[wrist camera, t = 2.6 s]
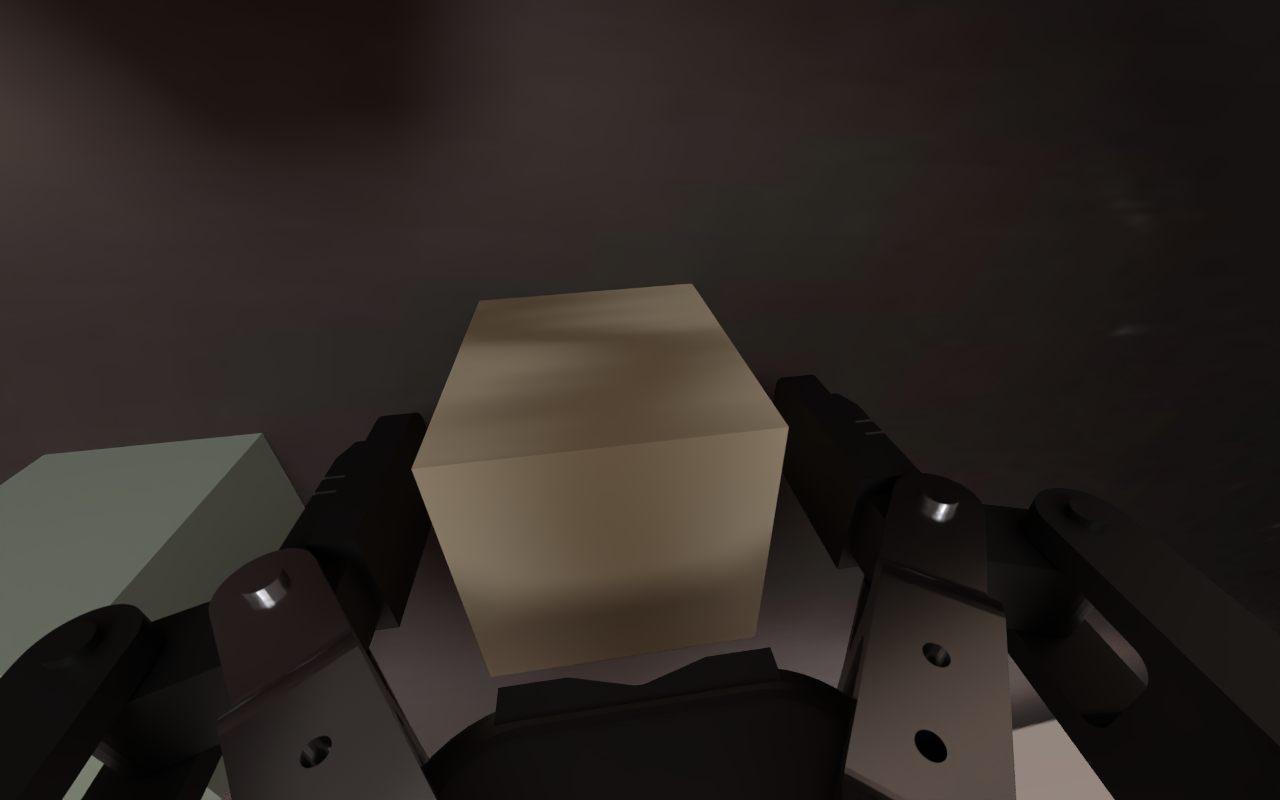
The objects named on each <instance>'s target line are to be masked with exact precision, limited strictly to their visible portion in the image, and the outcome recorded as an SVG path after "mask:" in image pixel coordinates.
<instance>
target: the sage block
mask: <svg viewBox="0 0 1280 800" xmlns="http://www.w3.org/2000/svg"><path fill="white" fill-rule="evenodd" d="M304 509H305V507H304V506H303V504H302V502H301V500H300V498H299V497H298V495H297V493H296V491H295V490H294V488H293V486H292V484H291V483H290V481H289V479H288V477H287V476H286V474H285V472H284V470H283V469H282V467H281V465H280V463H279V462H278V460H277V458H276V456H275V454H274V453H273V451H272V449H271V447H270V446H269V444H268V442H267V440H266V439H265V437H264V435H263V433H258V434H248V435H238V436H228V437H218V438H208V439H198V440H188V441H178V442H168V443H158V444H148V445H138V446H128V447H118V448H108V449H98V450H88V451H79V452H69V453H59V454H49V455H43V456H42V457H40V458H39V459H37V460H36V461H35V462H33V463H32V464H30V465H29V466H27V467H26V468H24V469H23V470H22V471H20V472H19V473H17V474H16V475H14V476H13V477H12V478H10V479H9V480H7V481H6V482H4V483H3V484H2V485H0V678H1V677H2V675H3V674H4V673H5V672H6V671H7V670H8V669H9V668H10V667H11V666H12V664H13V663H14V662H15V661H16V660H17V659H18V658H19V657H20V656H21V655H22V654H23V653H24V652H25V651H26V650H27V649H29V648H30V647H31V646H32V645H33V644H34V643H36V642H37V641H38V640H40V639H41V638H42V637H44V636H45V635H46V634H48V633H49V632H51V631H52V630H54V629H56V628H57V627H59V626H61V625H62V624H64V623H66V622H68V621H69V620H71V619H74V618H76V617H78V616H80V615H82V614H84V613H87V612H89V611H92V610H95V609H98V608H101V607H105V606H109V605H115V604H130V605H134V606H136V607H137V608H139V609H140V610H141V611H142V612H143V613H144V614H145V615H146V616H147V617H148V618H149V619H150V620H151V621H155V620H158V619H161V618H164V617H166V616H169V615H172V614H175V613H178V612H181V611H183V610H186V609H189V608H192V607H195V606H198V605H200V604H203V603H206V602H209V601H211V599H212V597H213V595H214V593H215V592H216V590H217V589H218V588H219V586H220V585H221V584H222V583H223V582H224V581H225V580H226V579H227V578H228V577H229V576H230V575H231V574H233V573H234V572H235V571H236V570H238V569H239V568H241V567H242V566H244V565H245V564H247V563H248V562H250V561H252V560H254V559H256V558H258V557H260V556H262V555H265V554H268V553H270V552H273V551H277V550H279V548H280V547H281V545H282V544H283V542H284V540H285V539H286V537H287V536H288V534H289V532H290V531H291V529H292V528H293V526H294V525H295V523H296V521H297V520H298V518H299V517H300V515H301V513H302V512H303V510H304ZM103 764H104V763H102V762H101V761H99V760H98V759H96V758H95V757H93V756H91V757H90V759H89V760H88V762H87V763H86V765H85V766H84V768H83V769H82V771H81V772H80V774H79V775H78V777H77V778H76V780H75V781H74V783H73V784H72V786H71V787H70V789H69V790H68V792H67V793H66V795H65V796H64V798H63V799H62V800H81V799H82V797H83V796H84V794H85V793H86V791H87V789H88V788H89V786H90V785H91V783H92V782H93V780H94V778H95V777H96V775H97V774H98V772H99V771H100V769H101V767H102V766H103ZM228 787H229V784H228V779H227V774H226V770H225V765H224V760H223V755H222V756H221V758H220V761H219V763H218V765H217V767H216V769H215V771H214V773H213V776H212V778H211V780H210V782H209V784H208V786H207V788H206V791H205V793H204V795H203V797H202V799H201V800H221V799H223V797H224V795H225V793H226V791H227V789H228Z"/></svg>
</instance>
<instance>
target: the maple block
mask: <svg viewBox="0 0 1280 800" xmlns="http://www.w3.org/2000/svg"><path fill="white" fill-rule="evenodd" d="M788 429H789V427H788V425H787V424H786V422H785V421H784V419H783V418H782V416H781V415H780V413H779V412H778V410H777V409H776V407H775V406H774V404H773V403H772V402H771V400H770V399H769V397H768V396H767V394H766V393H765V391H764V390H763V388H762V387H761V385H760V384H759V382H758V381H757V379H756V378H755V376H754V375H753V373H752V372H751V370H750V369H749V367H748V366H747V364H746V363H745V361H744V360H743V359H742V357H741V356H740V354H739V353H738V351H737V350H736V348H735V347H734V345H733V344H732V342H731V341H730V339H729V338H728V336H727V335H726V333H725V332H724V330H723V329H722V327H721V326H720V324H719V323H718V321H717V320H716V318H715V317H714V316H713V314H712V313H711V311H710V310H709V308H708V307H707V305H706V304H705V302H704V301H703V299H702V298H701V296H700V295H699V293H698V292H697V290H696V289H695V287H694V286H693V284H682V285H670V286H657V287H645V288H632V289H620V290H608V291H595V292H583V293H570V294H558V295H546V296H533V297H521V298H508V299H496V300H484V301H479V303H478V305H477V308H476V310H475V313H474V315H473V318H472V320H471V323H470V325H469V328H468V330H467V333H466V335H465V338H464V340H463V342H462V345H461V347H460V350H459V352H458V355H457V357H456V360H455V362H454V365H453V367H452V370H451V372H450V375H449V377H448V380H447V382H446V385H445V387H444V390H443V392H442V395H441V397H440V399H439V402H438V404H437V407H436V409H435V412H434V414H433V417H432V419H431V422H430V424H429V427H428V429H427V432H426V434H425V437H424V439H423V442H422V444H421V447H420V449H419V452H418V454H417V456H416V459H415V461H414V464H413V466H412V472H413V474H414V477H415V480H416V482H417V485H418V488H419V490H420V493H421V495H422V498H423V501H424V503H425V506H426V509H427V511H428V514H429V516H430V519H431V522H432V524H433V527H434V530H435V532H436V535H437V537H438V540H439V543H440V545H441V548H442V551H443V553H444V556H445V558H446V561H447V564H448V566H449V569H450V572H451V574H452V577H453V579H454V582H455V585H456V587H457V590H458V592H459V595H460V598H461V600H462V603H463V606H464V608H465V611H466V613H467V616H468V619H469V621H470V624H471V627H472V629H473V632H474V634H475V637H476V640H477V642H478V645H479V648H480V650H481V653H482V655H483V658H484V661H485V663H486V666H487V669H488V671H489V674H490V676H491V677H497V676H503V675H510V674H517V673H523V672H530V671H536V670H543V669H550V668H556V667H563V666H569V665H576V664H582V663H589V662H596V661H602V660H609V659H615V658H622V657H628V656H635V655H642V654H648V653H655V652H661V651H668V650H675V649H681V648H688V647H694V646H701V645H707V644H714V643H721V642H727V641H734V640H740V639H747V638H753V637H755V634H756V628H757V622H758V616H759V610H760V603H761V597H762V591H763V585H764V578H765V572H766V566H767V560H768V553H769V547H770V541H771V535H772V528H773V522H774V516H775V510H776V503H777V497H778V491H779V485H780V478H781V472H782V466H783V460H784V453H785V447H786V441H787V435H788Z"/></svg>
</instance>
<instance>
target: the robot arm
mask: <svg viewBox="0 0 1280 800" xmlns="http://www.w3.org/2000/svg"><path fill="white" fill-rule="evenodd" d="M773 404H774V406H775V407H776V409H777V410H778V412H779V413H780V415H781V416H782V418H783V419H784V421H785V422H786V424H787V425H788V427H789V429H788V435H787V441H786V447H785V453H784V460H783V466H782V473H783V475H784V476H785V478H786V480H787V482H788V483H789V485H790V487H791V489H792V490H793V492H794V494H795V496H796V497H797V499H798V501H799V503H800V504H801V506H802V508H803V510H804V511H805V513H806V515H807V517H808V518H809V520H810V522H811V524H812V525H813V527H814V529H815V531H816V532H817V534H818V536H819V538H820V539H821V541H822V543H823V545H824V546H825V548H826V550H827V552H828V553H829V555H830V557H831V559H832V560H833V562H834V564H835V566H836V567H837V569H842V568H849V567H856V566H859V567H860V569H861V570H862V572H863V574H864V575H865V576H864V579H863V582H862V585H861V589H860V593H859V598H858V602H857V607H856V611H855V616H854V620H853V625H852V629H851V634H850V638H849V643H848V647H847V652H846V656H845V661H844V665H843V669H842V673H841V676H840V680H839V683H838V687H837V689H836V688H834V687H832V686H830V685H828V684H826V683H824V682H822V681H820V680H818V679H815V678H812V677H810V676H807V675H804V674H800V673H796V672H792V671H788V670H783V669H778V667H777V664H776V662H775V659H774V656H773V654H772V651H771V648H770V647H769V648H762V649H756V650H749V651H742V652H736V653H729V654H722V655H716V656H709V657H705V658H702V659H700V660H698V661H696V662H693V663H691V664H689V665H687V666H685V667H682V668H680V669H678V670H676V671H673V672H671V673H669V674H667V675H664V676H662V677H660V678H658V679H655V680H653V681H651V682H649V683H646V684H643V685H638V686H637V685H625V684H617V683H608V682H600V681H592V680H584V679H575V678H562V679H555V680H548V681H542V682H535V683H528V684H522V685H515V686H508V687H502V688H498V696H497V705H496V712H494V713H492V714H490V715H488V716H486V717H484V718H482V719H480V720H479V721H477V722H475V723H473V724H472V725H470V726H468V727H467V728H466V729H464V730H463V731H461V732H460V733H459V734H457V735H456V736H455V737H453V738H452V739H451V740H450V741H448V742H447V743H446V744H445V745H444V746H443V747H442V748H441V749H439V750H438V751H437V752H436V753H435V754H434V755H433V756H432V757H431V758H430V759H429V758H428V756H427V754H426V753H425V751H424V749H423V747H422V746H421V744H420V742H419V740H418V738H417V737H416V735H415V733H414V731H413V729H412V728H411V726H410V724H409V722H408V720H407V718H406V716H405V714H404V712H403V711H402V709H401V707H400V705H399V703H398V701H397V699H396V697H395V695H394V694H393V692H392V690H391V688H390V686H389V684H388V682H387V680H386V678H385V677H384V675H383V673H382V671H381V669H380V667H379V665H378V663H377V662H376V660H375V658H374V656H373V654H372V652H371V651H370V649H369V646H370V643H371V641H372V638H373V635H374V632H375V630H381V629H388V628H396V627H399V626H400V623H401V620H402V617H403V614H404V610H405V607H406V604H407V601H408V598H409V594H410V591H411V588H412V585H413V582H414V578H415V575H416V572H417V569H418V566H419V562H420V559H421V556H422V553H423V550H424V547H425V543H426V540H427V537H428V534H429V531H430V527H431V524H432V522H431V519H430V516H429V514H428V511H427V509H426V506H425V503H424V501H423V498H422V495H421V493H420V490H419V488H418V485H417V482H416V480H415V477H414V474H413V472H412V466H413V464H414V461H415V459H416V456H417V454H418V452H419V449H420V447H421V444H422V442H423V439H424V437H425V434H426V432H427V428H426V425H425V422H424V420H423V418H422V416H421V415H420V414H419V413H410V414H399V415H389V416H381V417H380V418H378V420H377V421H376V423H375V425H374V427H373V428H372V430H371V432H370V433H369V435H368V437H367V439H366V440H365V441H360V442H356V443H354V444H353V445H352V446H351V447H350V448H348V449H347V450H346V451H345V452H343V453H342V454H341V455H340V456H339V457H337V458H336V460H335V461H334V463H333V464H332V466H331V468H330V469H329V471H328V472H327V474H326V475H325V480H322V482H321V483H320V485H319V487H318V488H317V490H316V491H315V493H316V495H315V496H312V498H311V499H310V501H309V502H308V504H307V506H306V507H305V509H304V510H303V512H302V513H301V515H300V517H299V518H298V520H297V521H296V523H295V525H294V526H293V528H292V529H291V531H290V532H289V534H288V536H287V537H286V539H285V540H284V542H283V544H282V545H281V547H280V548H279V550H277V551H273V552H270V553H268V554H265V555H262V556H260V557H258V558H256V559H254V560H252V561H250V562H248V563H247V564H245V565H244V566H242V567H241V568H239V569H238V570H236V571H235V572H234V573H233V574H231V575H230V576H229V577H228V578H227V579H226V580H225V581H224V582H223V583H222V584H221V585H220V586H219V588H218V589H217V590H216V592H215V593H214V595H213V597H212V599H211V601H209V602H206V603H203V604H200V605H198V606H195V607H192V608H189V609H186V610H183V611H181V612H178V613H175V614H172V615H169V616H166V617H164V618H161V619H158V620H155V621H151V620H150V619H149V618H148V617H147V616H146V615H145V614H144V613H143V612H142V611H141V610H140V609H139V608H137V607H136V606H134V605H130V604H115V605H109V606H105V607H101V608H98V609H95V610H92V611H89V612H87V613H84V614H82V615H80V616H78V617H76V618H74V619H71V620H69V621H68V622H66V623H64V624H62V625H61V626H59V627H57V628H56V629H54V630H52V631H51V632H49V633H48V634H46V635H45V636H44V637H42V638H41V639H40V640H38V641H37V642H36V643H34V644H33V645H32V646H31V647H30V648H29V649H27V650H26V651H25V652H24V653H23V654H22V655H21V656H20V657H19V658H18V659H17V660H16V661H15V662H14V663H13V664H12V666H11V667H10V668H9V669H8V670H7V671H6V672H5V673H4V674H3V675H2V677H1V678H0V800H62V799H63V798H64V796H65V795H66V793H67V792H68V790H69V789H70V787H71V786H72V784H73V783H74V781H75V780H76V778H77V777H78V775H79V774H80V772H81V771H82V769H83V768H84V766H85V765H86V763H87V762H88V760H89V759H90V757H91V756H93V757H95V758H96V759H98V760H99V761H101V762H102V763H104V764H103V766H102V767H101V769H100V771H99V772H98V774H97V775H96V777H95V778H94V780H93V782H92V783H91V785H90V786H89V788H88V789H87V791H86V793H85V794H84V796H83V797H82V799H81V800H201V799H202V797H203V795H204V793H205V791H206V788H207V786H208V784H209V782H210V780H211V778H212V776H213V773H214V771H215V769H216V767H217V765H218V763H219V761H220V758H221V756H222V755H223V760H224V765H225V770H226V774H227V779H228V784H229V789H230V793H231V798H232V800H1016V788H1015V770H1014V754H1013V736H1012V719H1011V702H1010V685H1009V668H1008V653H1009V655H1010V656H1011V658H1012V659H1013V660H1014V662H1015V663H1016V664H1017V666H1018V667H1019V669H1020V670H1021V671H1022V673H1023V674H1024V675H1025V677H1026V678H1027V680H1028V681H1029V682H1030V684H1031V685H1032V686H1033V688H1034V689H1035V691H1036V692H1037V693H1038V695H1039V696H1040V697H1041V699H1042V700H1043V702H1044V703H1045V704H1046V706H1047V707H1048V709H1049V710H1050V711H1051V713H1052V714H1053V715H1054V717H1055V718H1056V720H1057V721H1058V722H1059V724H1060V725H1061V726H1062V728H1063V729H1064V731H1065V732H1066V733H1067V735H1068V736H1069V737H1070V739H1071V740H1072V742H1073V743H1074V744H1075V745H1076V747H1077V748H1078V750H1079V751H1080V753H1081V754H1082V755H1083V757H1084V758H1085V759H1086V761H1087V762H1088V763H1089V765H1090V766H1091V768H1092V769H1093V770H1094V772H1095V773H1096V775H1097V776H1098V777H1099V779H1100V780H1101V781H1102V783H1103V784H1104V786H1105V787H1106V788H1107V790H1108V791H1109V792H1110V794H1111V795H1112V796H1113V798H1114V799H1115V800H1280V636H1279V635H1278V634H1276V633H1275V632H1274V631H1273V630H1271V629H1270V628H1269V627H1268V626H1266V625H1265V624H1264V623H1263V622H1261V621H1260V620H1259V619H1258V618H1256V617H1255V616H1254V615H1253V614H1251V613H1250V612H1249V611H1248V610H1246V609H1245V608H1244V607H1243V606H1241V605H1240V604H1239V603H1238V602H1236V601H1235V600H1234V599H1233V598H1231V597H1230V596H1229V595H1228V594H1226V593H1225V592H1224V591H1223V590H1221V589H1220V588H1219V587H1218V586H1216V585H1215V584H1214V583H1213V582H1211V581H1210V580H1209V579H1208V578H1206V577H1205V576H1204V575H1203V574H1201V573H1200V572H1199V571H1198V570H1196V569H1195V568H1194V567H1193V566H1191V565H1190V564H1189V563H1188V562H1186V561H1185V560H1184V559H1183V558H1181V557H1180V556H1179V555H1178V554H1176V553H1175V552H1174V551H1173V550H1171V549H1170V548H1169V547H1168V546H1166V545H1165V544H1164V543H1163V542H1161V541H1160V540H1159V539H1158V538H1156V537H1155V536H1154V535H1153V534H1151V533H1150V532H1149V531H1148V530H1146V529H1145V528H1144V527H1143V526H1141V525H1140V524H1139V523H1138V522H1136V521H1135V520H1134V519H1133V518H1131V517H1130V516H1129V515H1128V514H1126V513H1125V512H1124V511H1122V510H1121V509H1119V508H1118V507H1116V506H1114V505H1113V504H1111V503H1109V502H1107V501H1105V500H1103V499H1101V498H1098V497H1096V496H1093V495H1090V494H1088V493H1084V492H1081V491H1077V490H1072V489H1064V488H1051V489H1046V490H1043V491H1041V492H1039V493H1038V494H1037V495H1036V497H1035V499H1034V500H1033V502H1032V504H1031V506H1030V508H1029V509H1020V508H1011V507H1003V506H994V505H986V504H982V503H981V501H980V500H979V499H978V498H977V497H976V496H975V494H973V493H972V492H971V491H970V490H969V489H967V488H965V487H964V486H962V485H961V484H959V483H957V482H955V481H953V480H950V479H948V478H945V477H942V476H938V475H933V474H927V473H921V472H920V471H919V470H918V469H917V468H916V467H915V466H914V465H913V463H912V462H911V461H910V460H909V459H908V458H907V457H906V456H905V455H904V454H903V453H902V452H901V451H900V450H899V449H898V447H897V446H896V445H895V444H894V443H893V442H892V441H891V440H890V439H889V438H888V437H887V436H886V435H885V434H882V432H881V431H882V430H881V429H880V428H879V427H878V426H877V425H876V424H875V423H874V422H871V419H870V418H869V417H868V415H867V414H866V413H865V412H864V411H863V410H862V409H861V408H860V407H859V406H858V405H857V404H855V403H853V402H852V401H850V400H848V399H846V398H845V397H843V396H841V395H839V394H831V393H830V392H829V391H828V390H827V389H826V388H825V387H824V385H823V384H822V383H821V382H820V381H819V380H818V379H817V378H816V377H815V376H814V375H804V376H794V377H784V378H780V379H779V380H778V381H777V384H776V388H775V396H774V403H773ZM1094 607H1095V608H1096V609H1097V610H1098V611H1099V612H1100V613H1101V614H1102V615H1103V617H1104V618H1105V619H1106V620H1107V621H1108V622H1109V623H1110V624H1111V625H1112V626H1113V627H1114V628H1115V629H1116V630H1117V631H1118V632H1119V633H1120V634H1121V635H1122V636H1123V637H1124V638H1125V639H1126V640H1127V642H1128V643H1129V644H1130V645H1131V646H1132V647H1133V648H1134V649H1135V650H1136V651H1137V652H1138V654H1139V655H1140V657H1141V658H1142V660H1143V662H1144V664H1145V666H1146V668H1147V672H1148V678H1149V680H1148V685H1147V686H1146V685H1145V684H1144V683H1143V682H1142V681H1141V680H1140V679H1139V678H1138V677H1137V676H1136V674H1135V673H1134V672H1133V671H1132V670H1131V669H1130V668H1129V667H1128V666H1127V665H1126V664H1125V662H1124V661H1123V660H1122V659H1121V658H1120V657H1119V656H1118V655H1117V654H1116V653H1115V652H1114V650H1113V649H1112V648H1111V647H1110V646H1109V645H1108V644H1107V643H1106V642H1105V641H1104V640H1103V638H1102V637H1101V636H1100V635H1099V634H1098V633H1097V632H1096V631H1095V630H1094V629H1093V628H1092V626H1091V625H1090V624H1089V623H1088V622H1087V621H1086V620H1085V618H1086V617H1087V615H1088V614H1089V613H1090V612H1091V610H1092V609H1093V608H1094Z"/></svg>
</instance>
